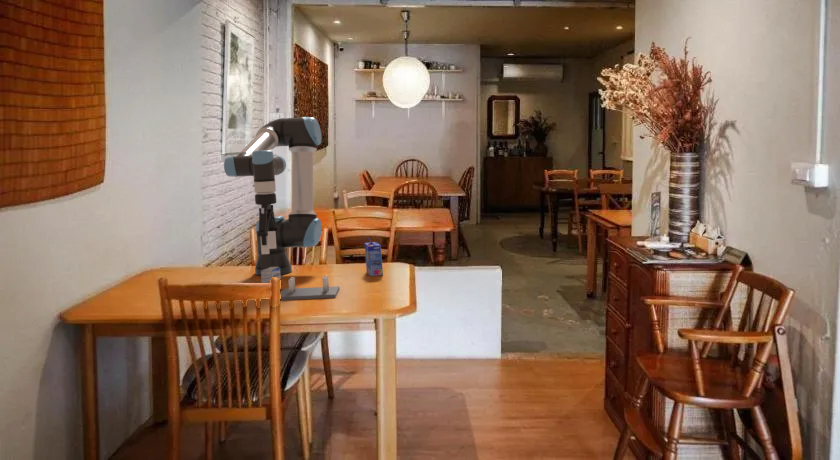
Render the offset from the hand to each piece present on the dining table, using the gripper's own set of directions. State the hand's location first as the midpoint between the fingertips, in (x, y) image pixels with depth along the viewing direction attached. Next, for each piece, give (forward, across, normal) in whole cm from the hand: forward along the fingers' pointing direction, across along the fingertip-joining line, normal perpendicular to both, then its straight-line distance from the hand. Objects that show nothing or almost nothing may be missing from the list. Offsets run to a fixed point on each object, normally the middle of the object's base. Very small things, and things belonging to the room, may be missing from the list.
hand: (269, 251), depth 285 cm
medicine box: (+15, 0, 0) cm, 15 cm away
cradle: (+15, +9, +15) cm, 23 cm away
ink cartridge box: (+15, -27, +36) cm, 48 cm away
